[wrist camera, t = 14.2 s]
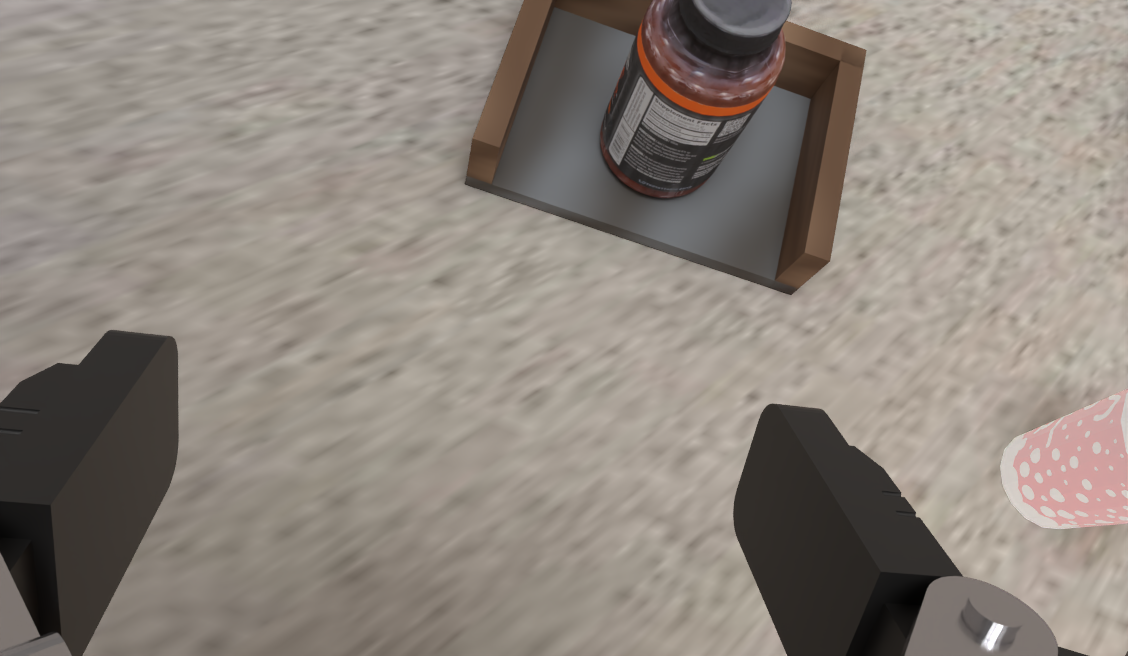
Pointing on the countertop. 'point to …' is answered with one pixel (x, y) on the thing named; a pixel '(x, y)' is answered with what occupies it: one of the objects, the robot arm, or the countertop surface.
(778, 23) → the supplement bottle
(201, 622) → the countertop surface
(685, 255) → the frame
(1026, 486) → the beverage cup
